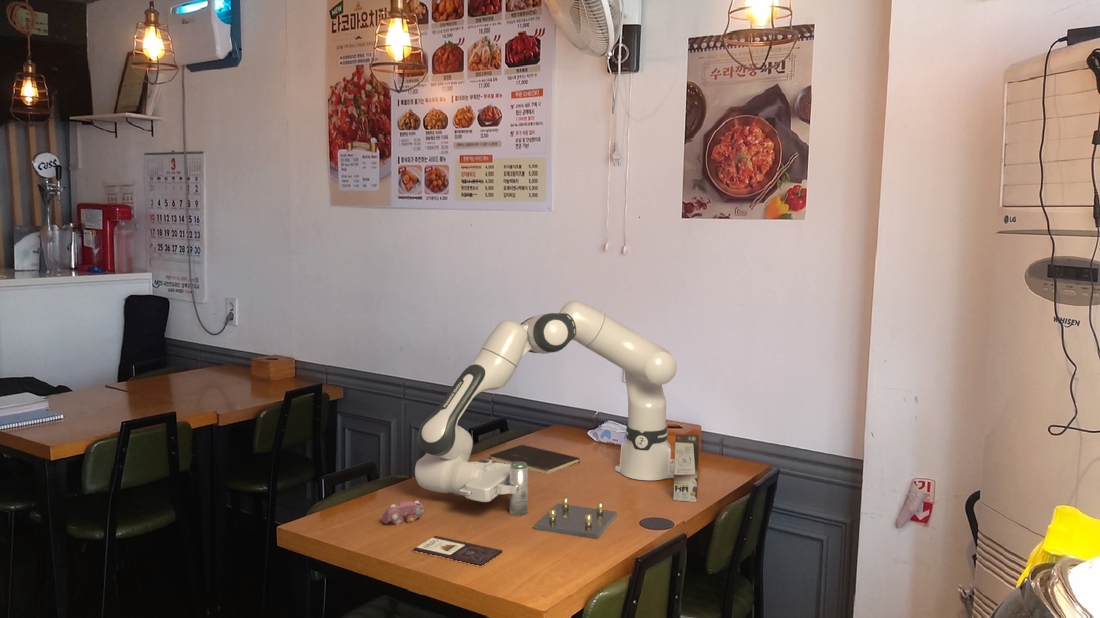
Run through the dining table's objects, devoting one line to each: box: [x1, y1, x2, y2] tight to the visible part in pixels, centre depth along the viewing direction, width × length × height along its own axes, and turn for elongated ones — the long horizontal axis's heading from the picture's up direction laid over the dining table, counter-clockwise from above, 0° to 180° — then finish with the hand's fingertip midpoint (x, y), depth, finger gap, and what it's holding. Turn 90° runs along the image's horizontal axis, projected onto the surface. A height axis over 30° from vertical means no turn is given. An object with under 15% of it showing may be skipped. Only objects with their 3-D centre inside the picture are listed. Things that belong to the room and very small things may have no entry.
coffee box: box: [672, 434, 700, 503], centre depth 220 cm, size 9×6×16 cm
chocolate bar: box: [412, 535, 503, 566], centre depth 182 cm, size 9×1×18 cm
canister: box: [509, 461, 529, 517], centre depth 207 cm, size 5×5×13 cm
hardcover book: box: [489, 444, 581, 475], centre depth 252 cm, size 16×23×2 cm
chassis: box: [533, 496, 618, 540], centre depth 200 cm, size 16×16×4 cm
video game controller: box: [382, 500, 426, 525], centre depth 199 cm, size 10×5×7 cm, turn 118°
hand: (521, 486), depth 206 cm, fingers closed on canister, 5 cm apart
